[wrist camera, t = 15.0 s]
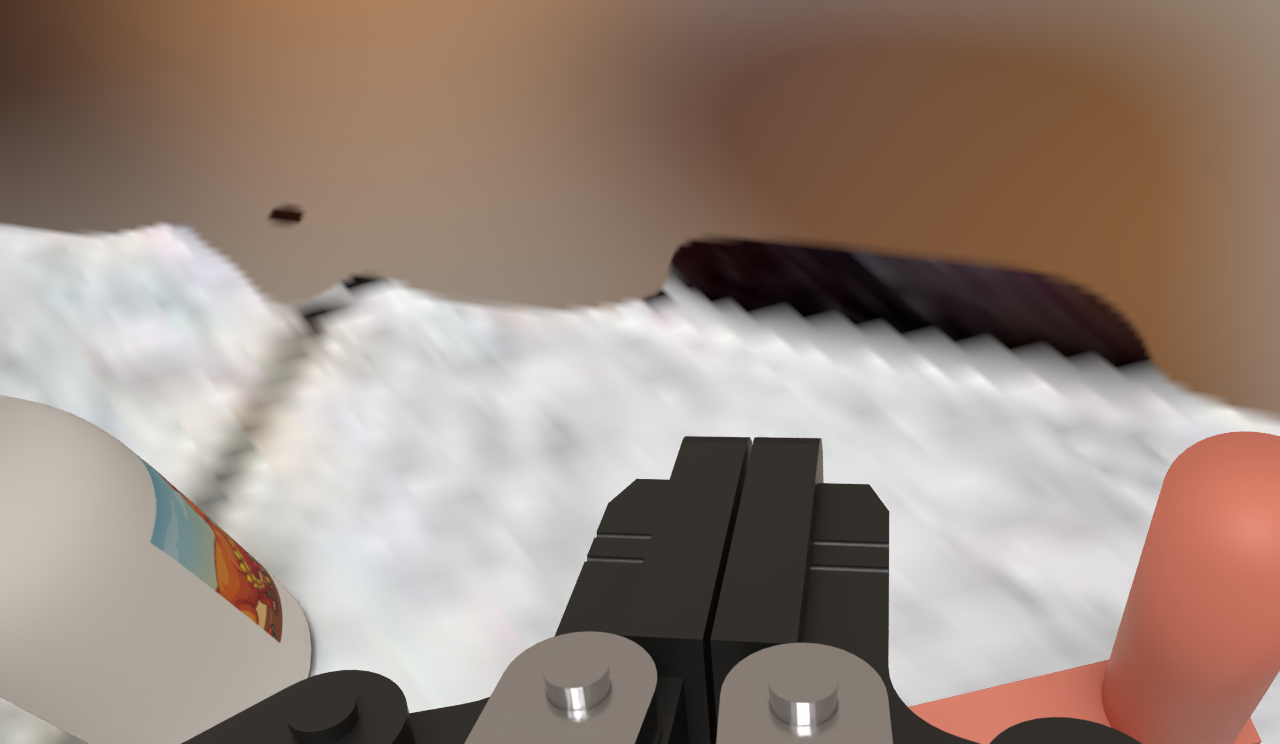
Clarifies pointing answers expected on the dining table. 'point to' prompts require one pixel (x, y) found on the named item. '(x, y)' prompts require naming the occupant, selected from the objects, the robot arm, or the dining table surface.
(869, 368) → the dining table surface
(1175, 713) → the lever
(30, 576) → the milk bottle
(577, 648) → the robot arm
